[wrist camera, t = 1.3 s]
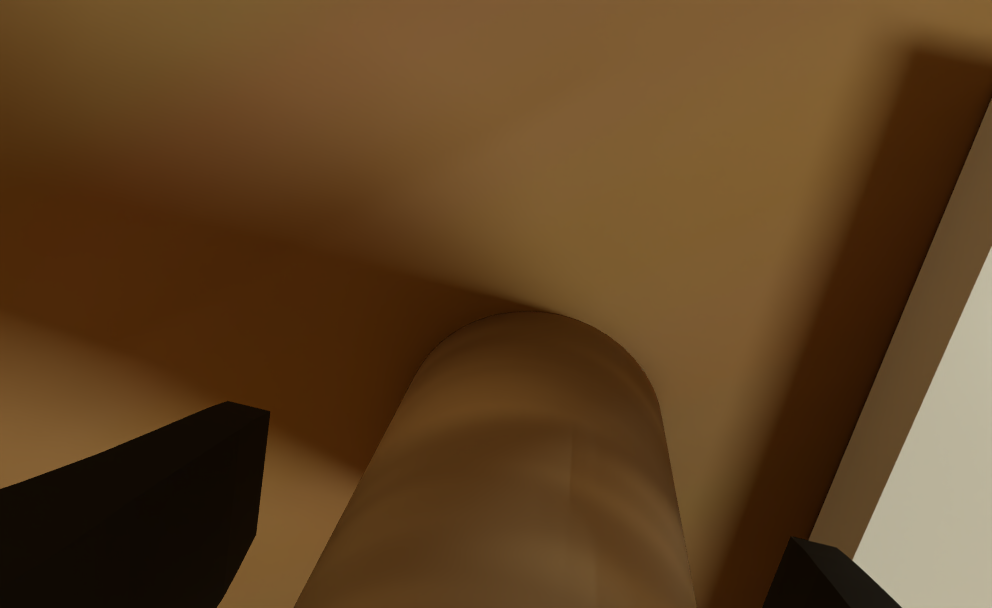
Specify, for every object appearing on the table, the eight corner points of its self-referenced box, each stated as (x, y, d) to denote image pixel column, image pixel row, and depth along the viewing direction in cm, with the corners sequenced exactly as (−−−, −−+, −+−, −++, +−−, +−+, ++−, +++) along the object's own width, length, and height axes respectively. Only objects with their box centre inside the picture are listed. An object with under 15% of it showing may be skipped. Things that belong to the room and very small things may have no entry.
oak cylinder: (696, 346, 12) (815, 701, 6) (624, 568, 14) (655, 1053, 7) (427, 284, 12) (244, 559, 6) (385, 509, 14) (203, 930, 7)
